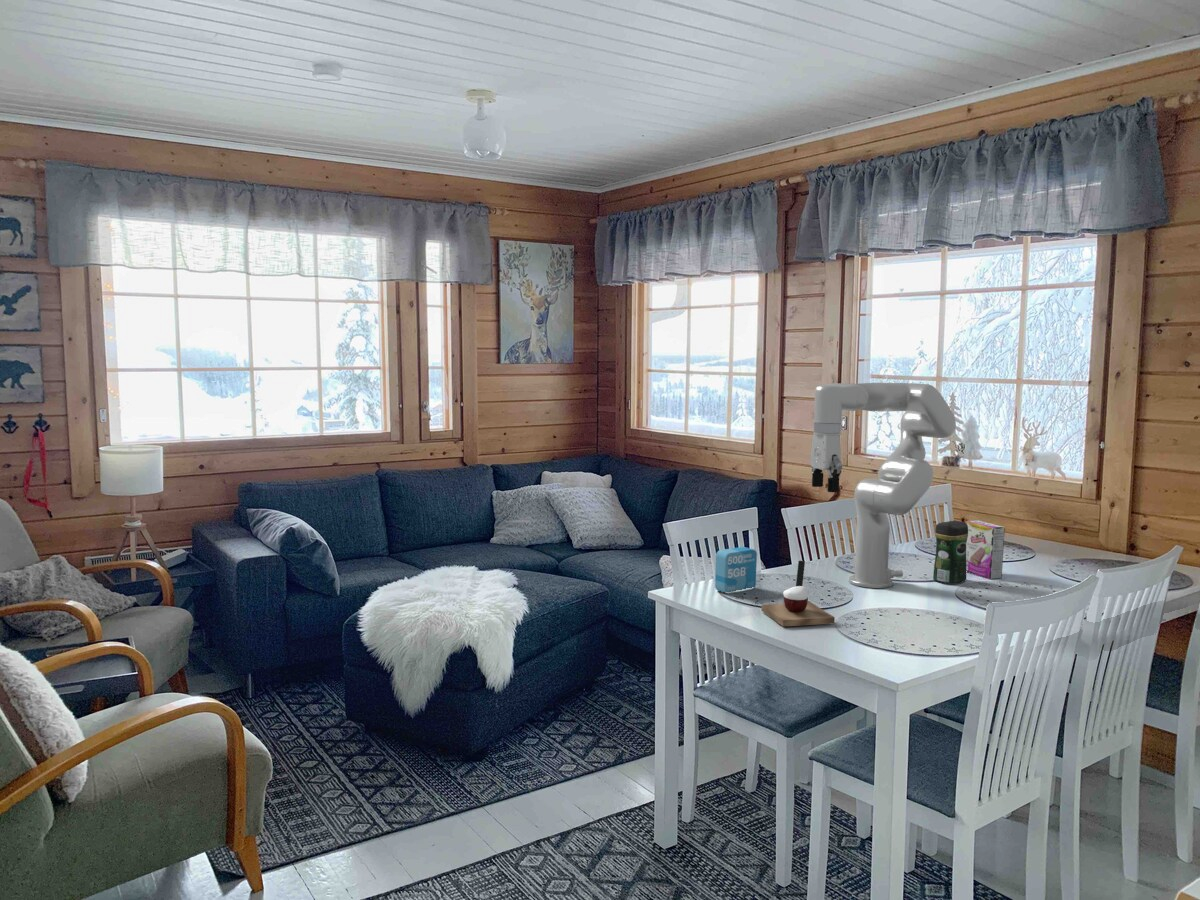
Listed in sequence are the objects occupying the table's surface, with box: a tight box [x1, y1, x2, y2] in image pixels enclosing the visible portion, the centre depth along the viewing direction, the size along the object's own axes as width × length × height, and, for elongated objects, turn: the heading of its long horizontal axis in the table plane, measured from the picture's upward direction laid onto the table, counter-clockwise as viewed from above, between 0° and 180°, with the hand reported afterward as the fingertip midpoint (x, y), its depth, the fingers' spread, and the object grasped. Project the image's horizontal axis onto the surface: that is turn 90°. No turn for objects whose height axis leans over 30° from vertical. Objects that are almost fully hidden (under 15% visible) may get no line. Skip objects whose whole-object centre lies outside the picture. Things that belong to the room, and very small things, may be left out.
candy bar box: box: [966, 519, 1006, 580], centre depth 281 cm, size 11×5×16 cm, turn 22°
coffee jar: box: [932, 519, 968, 585], centre depth 273 cm, size 10×8×19 cm
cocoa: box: [782, 560, 810, 612], centre depth 235 cm, size 10×6×12 cm, turn 131°
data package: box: [714, 546, 758, 593], centre depth 261 cm, size 12×4×12 cm, turn 123°
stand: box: [761, 601, 835, 628], centre depth 235 cm, size 14×14×2 cm
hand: (825, 489), depth 255 cm, fingers open, 9 cm apart
